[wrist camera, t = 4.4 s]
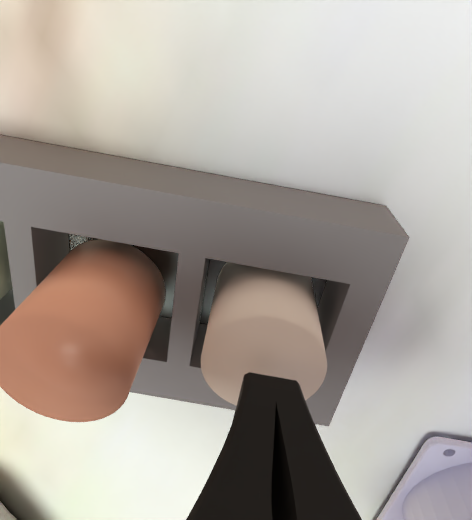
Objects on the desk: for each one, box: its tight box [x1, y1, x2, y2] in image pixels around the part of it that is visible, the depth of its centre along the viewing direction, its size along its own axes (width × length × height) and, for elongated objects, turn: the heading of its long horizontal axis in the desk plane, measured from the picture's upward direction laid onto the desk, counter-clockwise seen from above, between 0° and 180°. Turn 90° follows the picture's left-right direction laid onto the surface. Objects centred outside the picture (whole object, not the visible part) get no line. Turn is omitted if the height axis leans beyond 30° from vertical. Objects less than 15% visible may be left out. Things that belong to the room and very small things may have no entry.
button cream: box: [201, 262, 327, 406], centre depth 13 cm, size 4×4×4 cm
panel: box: [0, 135, 409, 426], centre depth 14 cm, size 17×8×2 cm, turn 81°
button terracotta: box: [0, 239, 166, 422], centre depth 12 cm, size 4×4×4 cm
